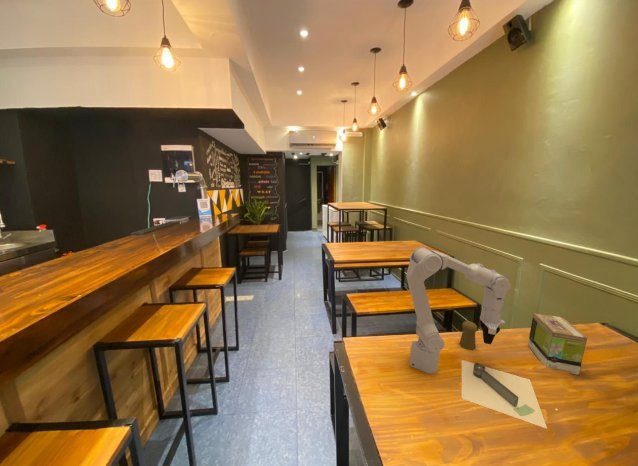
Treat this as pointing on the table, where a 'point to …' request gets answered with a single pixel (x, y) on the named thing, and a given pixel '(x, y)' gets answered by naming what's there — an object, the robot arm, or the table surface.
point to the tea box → (557, 343)
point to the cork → (468, 335)
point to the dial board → (488, 397)
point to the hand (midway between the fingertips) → (487, 342)
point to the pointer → (495, 384)
